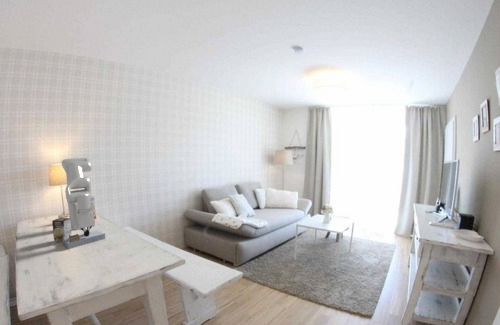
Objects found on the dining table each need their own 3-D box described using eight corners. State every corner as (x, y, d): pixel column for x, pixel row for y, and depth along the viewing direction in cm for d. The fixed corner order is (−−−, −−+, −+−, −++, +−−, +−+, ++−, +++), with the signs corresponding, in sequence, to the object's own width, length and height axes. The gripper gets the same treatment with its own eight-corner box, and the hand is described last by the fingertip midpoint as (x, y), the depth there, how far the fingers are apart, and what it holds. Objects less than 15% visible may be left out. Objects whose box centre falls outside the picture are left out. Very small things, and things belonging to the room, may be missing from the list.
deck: (63, 243, 168) (62, 237, 168) (98, 233, 184) (98, 228, 184) (68, 249, 158) (67, 243, 157) (105, 238, 174) (105, 233, 174)
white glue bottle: (96, 217, 229) (94, 195, 228) (96, 218, 224) (94, 196, 223) (78, 220, 221) (76, 198, 220) (78, 221, 216) (76, 199, 215)
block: (70, 241, 164) (69, 236, 164) (78, 238, 168) (77, 233, 167) (71, 243, 161) (70, 238, 160) (80, 240, 164) (79, 235, 164)
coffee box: (53, 242, 170) (51, 220, 169) (61, 238, 176) (59, 217, 175) (65, 242, 169) (63, 220, 168) (72, 239, 176) (70, 217, 174)
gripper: (72, 214, 159) (75, 240, 161) (98, 209, 170) (100, 234, 172) (70, 212, 164) (72, 238, 166) (95, 207, 175) (97, 231, 177)
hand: (86, 236), depth 169 cm, fingers closed
